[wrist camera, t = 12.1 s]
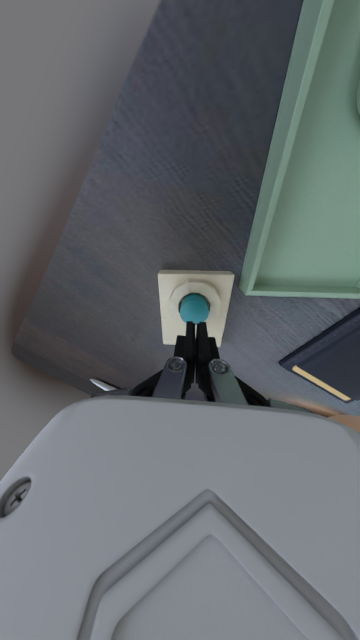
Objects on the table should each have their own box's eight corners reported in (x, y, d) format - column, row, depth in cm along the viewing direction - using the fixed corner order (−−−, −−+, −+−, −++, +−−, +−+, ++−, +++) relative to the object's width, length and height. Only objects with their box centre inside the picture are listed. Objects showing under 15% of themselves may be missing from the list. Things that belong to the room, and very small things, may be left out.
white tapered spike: (148, 401, 36) (146, 409, 34) (142, 405, 37) (140, 412, 35) (94, 373, 31) (89, 380, 30) (90, 378, 32) (84, 385, 31)
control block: (161, 269, 18) (153, 277, 15) (230, 270, 18) (239, 279, 14) (165, 335, 24) (161, 352, 20) (218, 338, 23) (222, 355, 20)
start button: (180, 293, 16) (179, 299, 14) (208, 294, 16) (210, 300, 14) (180, 317, 18) (179, 325, 16) (206, 318, 17) (207, 326, 16)
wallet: (461, 371, 21) (348, 410, 28) (441, 361, 22) (339, 401, 29) (397, 301, 16) (281, 369, 23) (378, 295, 18) (275, 361, 25)
